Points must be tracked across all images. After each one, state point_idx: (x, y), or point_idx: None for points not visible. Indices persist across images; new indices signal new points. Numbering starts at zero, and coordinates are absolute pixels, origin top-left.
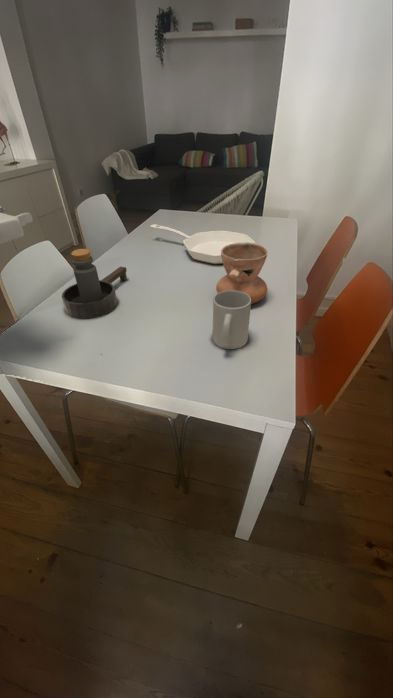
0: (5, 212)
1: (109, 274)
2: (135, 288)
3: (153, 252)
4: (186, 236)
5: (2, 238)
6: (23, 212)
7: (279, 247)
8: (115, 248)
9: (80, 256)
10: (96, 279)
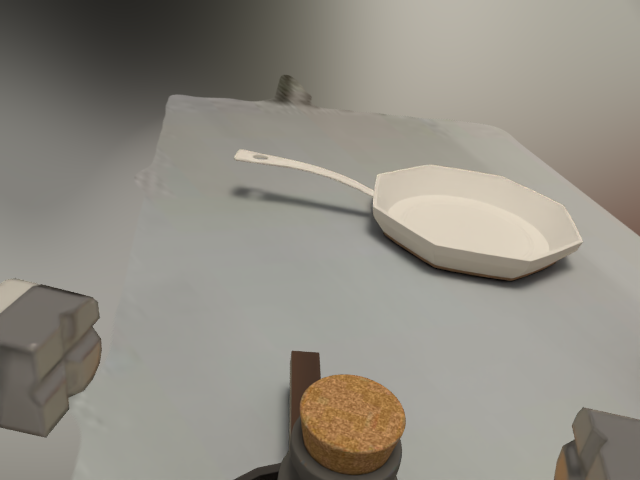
0: (92, 352)
1: (292, 408)
2: None
3: (280, 246)
4: (364, 189)
5: None
6: (600, 429)
7: (576, 206)
8: (134, 237)
9: (387, 450)
10: None
